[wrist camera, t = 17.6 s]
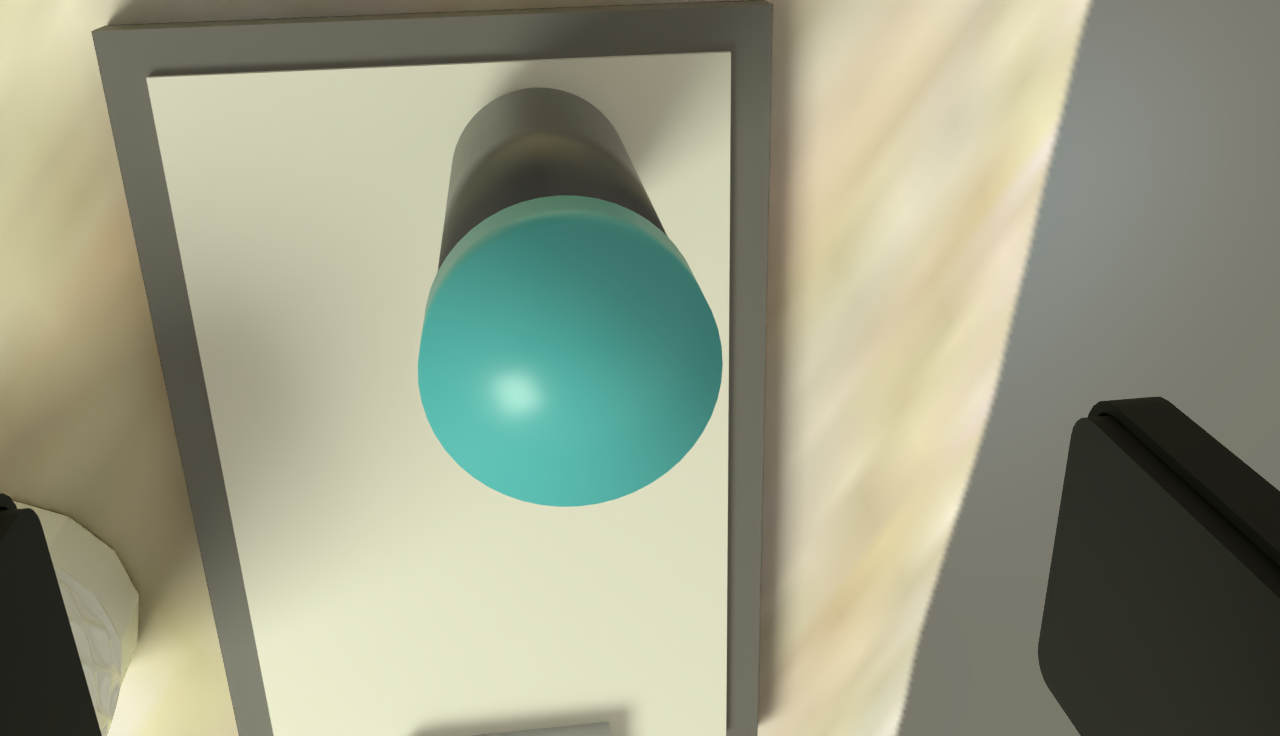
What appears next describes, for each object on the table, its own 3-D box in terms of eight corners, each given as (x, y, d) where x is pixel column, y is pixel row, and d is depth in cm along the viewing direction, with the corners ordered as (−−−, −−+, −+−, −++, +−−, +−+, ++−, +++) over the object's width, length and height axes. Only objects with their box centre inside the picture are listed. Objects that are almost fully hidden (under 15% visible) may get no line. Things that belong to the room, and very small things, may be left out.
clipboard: (105, 25, 26) (76, 37, 24) (763, -1, 27) (782, 9, 25) (260, 782, 35) (247, 833, 33) (750, 731, 36) (763, 777, 34)
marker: (440, 79, 26) (402, 235, 15) (625, 72, 26) (723, 218, 15) (456, 257, 28) (432, 518, 16) (630, 247, 28) (721, 495, 17)
